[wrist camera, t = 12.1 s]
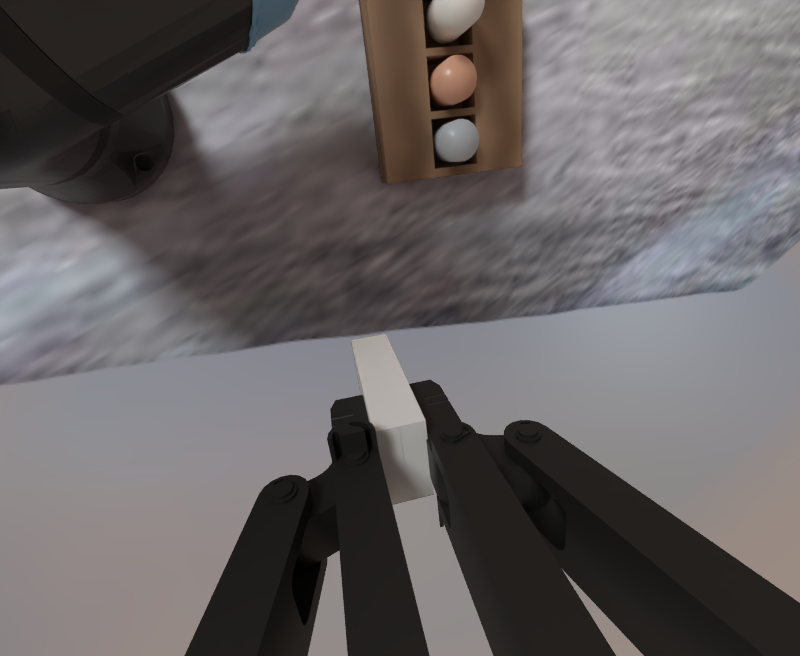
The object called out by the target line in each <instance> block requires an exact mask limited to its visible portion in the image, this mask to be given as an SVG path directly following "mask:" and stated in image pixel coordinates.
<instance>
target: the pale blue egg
mask: <svg viewBox="0 0 800 656" xmlns="http://www.w3.org/2000/svg"><path fill="white" fill-rule="evenodd" d="M432 137H433V150H434V159H436V160H437V161H439V162H461V161H466V160H468V159H469V158H471V157H472V156H473V155H474V154H475V152H476V150H477V148H478V145H479V134H478V131H477V128H476V127H475V125H474V124H473V123H472V122H470V121H468V120H465V119H457V120H455V121H452V122H449V123H446V124H443V125H440V126H438V127H437V128H435V129H434V130H433V131H432Z"/></svg>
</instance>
